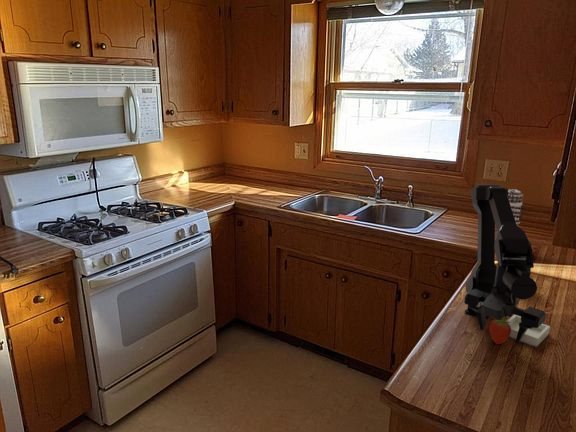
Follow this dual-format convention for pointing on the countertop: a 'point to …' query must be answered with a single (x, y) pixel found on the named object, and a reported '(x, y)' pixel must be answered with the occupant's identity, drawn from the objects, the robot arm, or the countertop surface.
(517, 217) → the decorative candle
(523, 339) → the bin
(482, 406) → the countertop surface
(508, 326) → the fruit
